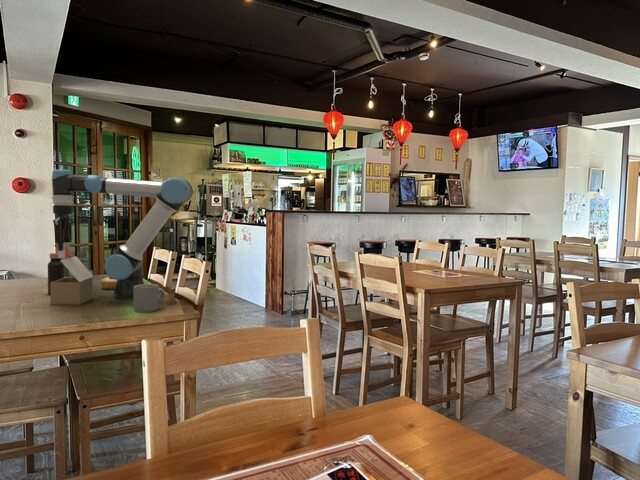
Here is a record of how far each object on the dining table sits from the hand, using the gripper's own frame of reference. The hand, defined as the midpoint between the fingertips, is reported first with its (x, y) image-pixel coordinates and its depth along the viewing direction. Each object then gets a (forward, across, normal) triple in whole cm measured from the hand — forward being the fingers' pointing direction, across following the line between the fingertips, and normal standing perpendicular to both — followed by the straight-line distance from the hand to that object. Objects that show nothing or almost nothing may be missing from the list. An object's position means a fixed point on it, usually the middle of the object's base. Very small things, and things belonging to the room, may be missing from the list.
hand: (64, 257), depth 201 cm
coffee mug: (+20, +15, +41) cm, 48 cm away
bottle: (+20, -18, -12) cm, 30 cm away
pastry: (+21, -35, +9) cm, 41 cm away
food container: (+20, -31, -7) cm, 38 cm away
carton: (+20, 0, +3) cm, 20 cm away
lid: (+2, 0, +3) cm, 4 cm away
